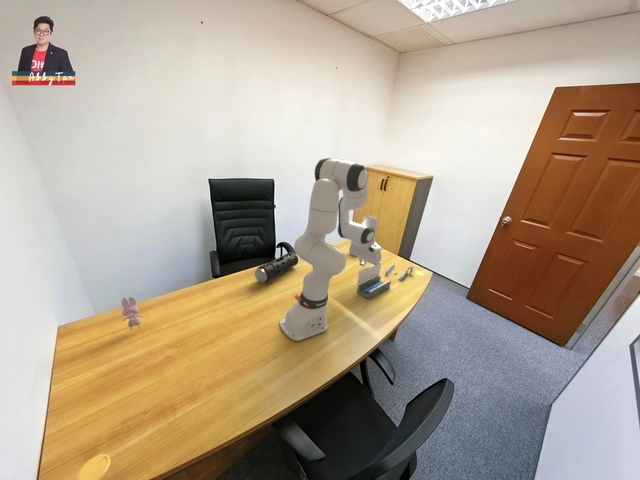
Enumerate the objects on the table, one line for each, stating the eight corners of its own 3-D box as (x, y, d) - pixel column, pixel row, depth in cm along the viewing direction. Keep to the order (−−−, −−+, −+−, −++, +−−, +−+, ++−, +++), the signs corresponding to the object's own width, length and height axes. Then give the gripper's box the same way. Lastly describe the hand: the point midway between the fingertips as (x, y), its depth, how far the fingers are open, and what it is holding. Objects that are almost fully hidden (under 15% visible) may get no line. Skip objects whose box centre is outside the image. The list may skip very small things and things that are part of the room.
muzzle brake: (298, 268, 145) (299, 254, 142) (266, 288, 123) (266, 271, 119) (286, 264, 150) (287, 249, 146) (253, 281, 127) (253, 265, 124)
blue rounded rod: (366, 293, 125) (367, 290, 124) (364, 291, 126) (364, 289, 126) (383, 284, 135) (383, 281, 134) (380, 283, 136) (381, 280, 136)
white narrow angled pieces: (392, 267, 160) (393, 260, 158) (411, 273, 154) (413, 267, 152) (384, 275, 149) (386, 268, 147) (405, 283, 142) (407, 275, 140)
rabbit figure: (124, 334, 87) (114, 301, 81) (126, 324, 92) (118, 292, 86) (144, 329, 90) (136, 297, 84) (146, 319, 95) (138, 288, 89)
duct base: (368, 299, 122) (370, 292, 120) (357, 292, 127) (358, 285, 126) (389, 287, 135) (391, 280, 133) (378, 281, 140) (379, 274, 138)
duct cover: (360, 271, 123) (358, 270, 123) (358, 284, 126) (356, 284, 126) (381, 262, 135) (380, 261, 136) (379, 274, 139) (377, 273, 139)
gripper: (348, 238, 134) (345, 260, 139) (377, 251, 120) (373, 274, 125) (355, 236, 138) (352, 257, 143) (384, 249, 124) (379, 271, 129)
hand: (362, 265), depth 134 cm, fingers closed
